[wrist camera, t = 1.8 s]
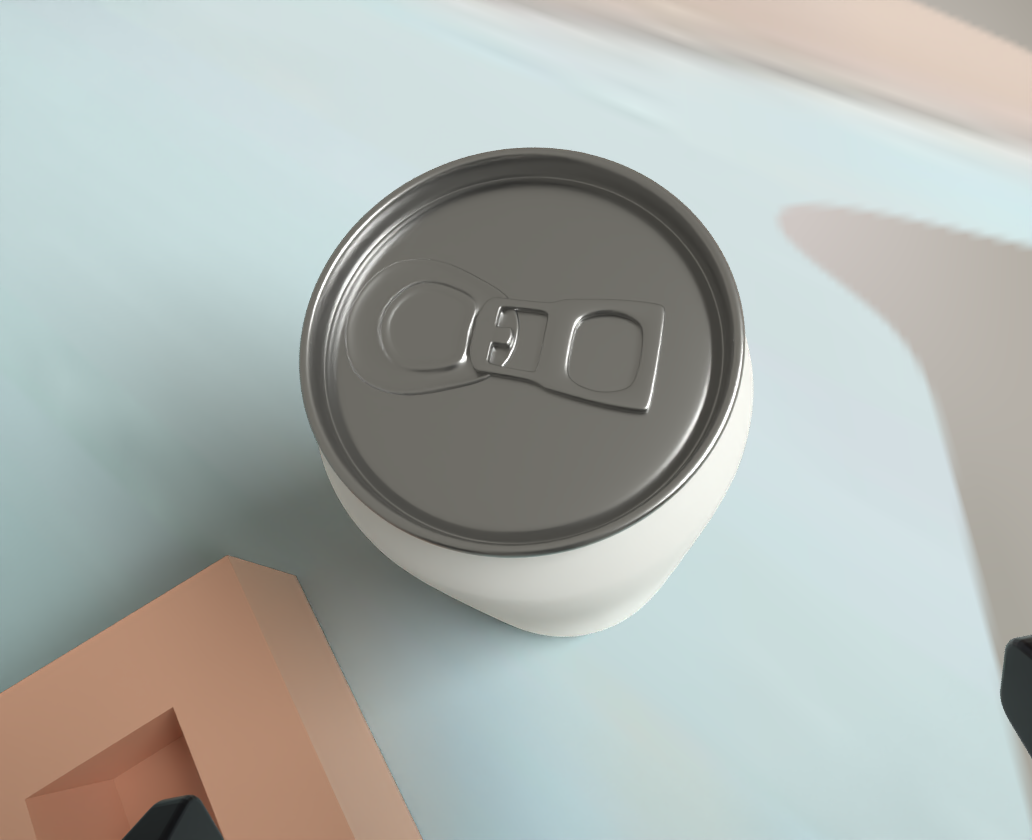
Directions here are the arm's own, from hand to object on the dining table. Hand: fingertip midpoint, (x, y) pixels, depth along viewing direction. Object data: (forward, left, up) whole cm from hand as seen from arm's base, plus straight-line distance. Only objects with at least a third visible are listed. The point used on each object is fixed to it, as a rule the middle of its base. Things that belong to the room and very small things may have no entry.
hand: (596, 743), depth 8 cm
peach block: (+3, +10, -11) cm, 15 cm away
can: (+4, -2, -12) cm, 13 cm away
